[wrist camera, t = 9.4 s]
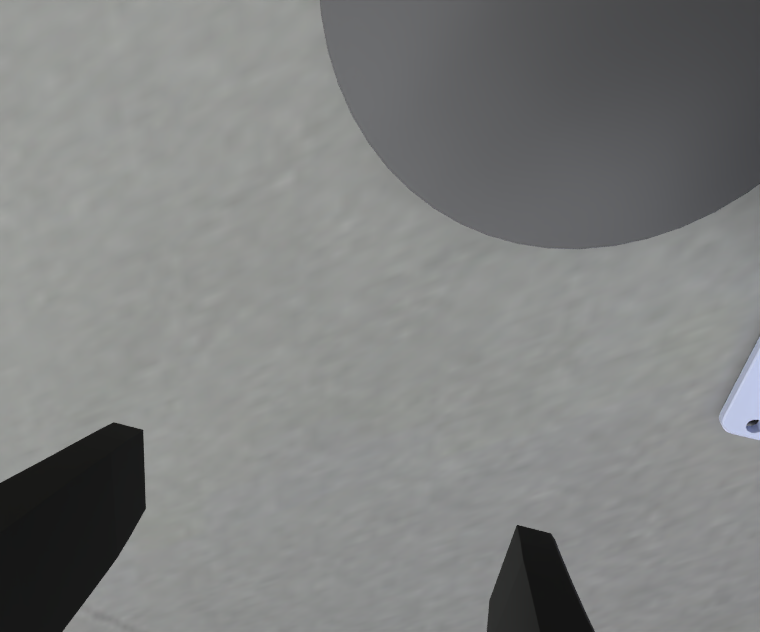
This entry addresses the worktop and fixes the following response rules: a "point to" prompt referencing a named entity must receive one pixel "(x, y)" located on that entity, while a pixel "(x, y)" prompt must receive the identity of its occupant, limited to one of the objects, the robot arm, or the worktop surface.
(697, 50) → the mat
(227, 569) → the worktop surface
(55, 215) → the worktop surface
